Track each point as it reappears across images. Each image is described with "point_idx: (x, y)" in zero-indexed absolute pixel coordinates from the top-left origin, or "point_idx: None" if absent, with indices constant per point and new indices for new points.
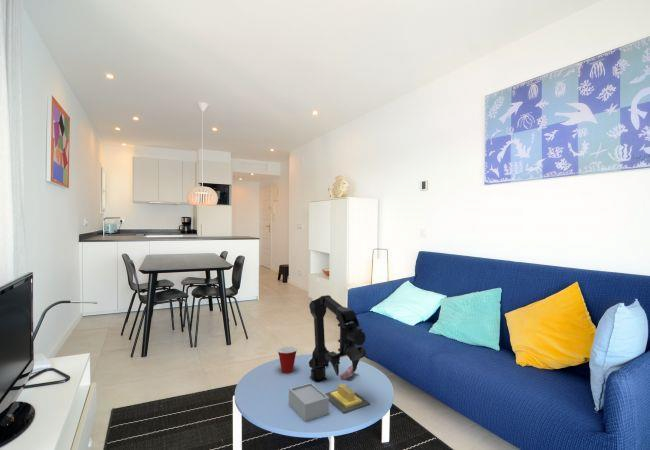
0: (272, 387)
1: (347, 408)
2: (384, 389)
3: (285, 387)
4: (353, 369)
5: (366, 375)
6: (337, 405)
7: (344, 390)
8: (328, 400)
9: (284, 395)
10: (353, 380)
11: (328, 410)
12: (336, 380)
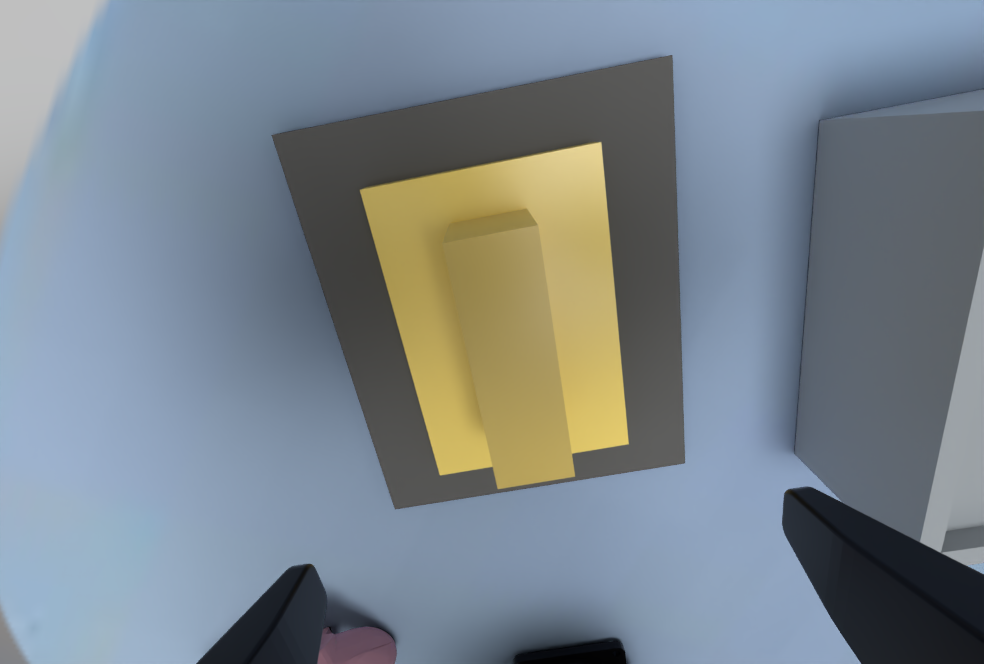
0: None
1: (589, 120)
2: (12, 374)
3: None
4: (314, 615)
5: (138, 630)
6: (661, 225)
7: (554, 339)
8: (973, 108)
9: None
10: None
11: (850, 118)
12: (441, 626)
